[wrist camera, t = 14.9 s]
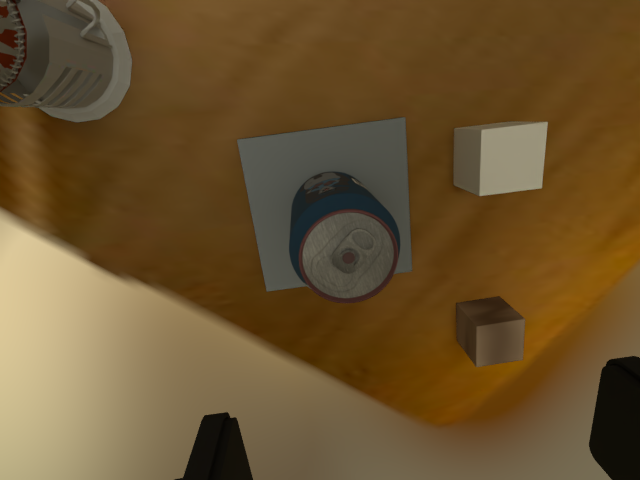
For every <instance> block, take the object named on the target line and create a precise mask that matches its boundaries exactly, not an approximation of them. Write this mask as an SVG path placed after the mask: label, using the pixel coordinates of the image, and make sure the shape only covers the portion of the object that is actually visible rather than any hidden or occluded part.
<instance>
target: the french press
mask: <svg viewBox="0 0 640 480" xmlns="http://www.w3.org/2000/svg"><path fill="white" fill-rule="evenodd" d="M131 67H132V58H131V54H130V51H129V47H128V44H127V40H126V37H125V33H124V31H123V30H122V28H121V27H120V26H119V24H118V23H117V21H116V20H115V18H114V17H113V15H112V14H111V12H110V11H109V10H108V8H107V7H106V6H105V5H103V4H102V3H101V2H99V1H98V0H0V92H2V93H3V94H5V95H7V96H9V97H10V98H12V99H14V100H15V101H17V102H18V103H15V102H12V101H10V100H8V99H7V98H5V97H3V96H1V95H0V99H1V100H3V101H5V102H8V103H11V104H7V103H3V102H0V106H9V107H19V106H21V107H36V108H40V109H41V110H43V111H44V112H46V113H47V114H49V115H50V116H52V117H56V118H60V119H65V120H69V121H73V122H83V121H90V120H96V119H101V118H102V117H104V116H105V115H106V114H108V113H109V112H111V111H112V110H114V109H115V108H117V107H118V106H119V105H120V103H121V101H122V99H123V97H124V95H125V94H126V92H127V90H128V88H129V86H130V79H131ZM10 93H15V94H17V95H18V96H20V97H22V98H23V99H22V100H20V99H19V98H17V97H15V96H13V95H12V94H10ZM32 104H33V105H32ZM25 105H29V106H25Z"/></svg>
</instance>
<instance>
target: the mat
mask: <svg viewBox="0 0 640 480" xmlns="http://www.w3.org/2000/svg"><path fill="white" fill-rule="evenodd" d="M237 142H238V147H239V152H240V157H241V163H242V168H243V173H244V178H245V183H246V188H247V193H248V198H249V204H250V209H251V214H252V219H253V224H254V229H255V234H256V240H257V245H258V250H259V255H260V260H261V265H262V270H263V275H264V281H265V286H266V291H274V290H282V289H289V288H296V287H303V286H306V285H305V284H304V283H303V282H302V281H301V279H300V278H299V277H298V275H297V274H296V272H295V270H294V268H293V266H292V263H291V260H290V255H289V239H290V223H291V208H292V202H293V199H294V197H295V195H296V193H297V191H298V189H299V188H300V187H301V186H302V185H303V184H304V183H305V182H306V181H307V180H308V179H310V178H311V177H313V176H315V175H317V174H320V173H324V172H342V173H346V174H348V175H351V176H353V177H354V178H356V179H357V180H359V181H360V182H361V183H362V184H363V185H364V186H365V187H366V188H367V189H368V190H369V191H370V193H371V194H372V195H373V196H374V197H375V198H376V199H377V200H378V201H379V202H380V203H381V204H382V205H383V206H384V207H385V208H386V209H387V210H388V211H389V213H390V214H391V215H392V217H393V218H394V220H395V222H396V224H397V227H398V230H399V234H400V253H399V258H398V263H397V267H396V270H395V272H394V274H396V273H403V272H410V271H412V257H411V234H410V212H409V189H408V167H407V144H406V122H405V117H402V118H394V119H387V120H379V121H372V122H365V123H357V124H350V125H342V126H335V127H327V128H320V129H312V130H305V131H297V132H290V133H282V134H275V135H267V136H260V137H252V138H245V139H238V140H237Z"/></svg>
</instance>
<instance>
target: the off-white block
mask: <svg viewBox="0 0 640 480" xmlns="http://www.w3.org/2000/svg"><path fill="white" fill-rule="evenodd" d="M547 125H548V122H502V123H494V124H486V125H478V126H469V127H461V128H454V186H457V187H459V188H461V189H464V190H466V191H469V192H471V193H473V194H476V195H478V196H484V195H492V194H500V193H508V192H516V191H524V190H532V189H540V188H542V180H543V169H544V158H545V147H546V136H547Z"/></svg>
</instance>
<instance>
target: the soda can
mask: <svg viewBox="0 0 640 480" xmlns="http://www.w3.org/2000/svg"><path fill="white" fill-rule="evenodd" d="M399 253H400V234H399V230H398V227H397V224H396V222H395V220H394V218H393V217H392V215H391V214H390V213H389V211H388V210H387V209H386V208H385V207H384V206H383V205H382V204H381V203H380V202H379V201H378V200H377V199H376V198H375V197H374V196H373V195H372V194H371V193H370V191H369V190H368V189H367V188H366V187H365V186H364V185H363V184H362V183H361V182H360V181H359V180H357V179H356V178H354V177H353V176H351V175H348V174H346V173H342V172H324V173H320V174H317V175H315V176H313V177H311V178H310V179H308V180H307V181H306V182H305V183H304V184H303V185H302V186H301V187H300V188H299V189H298V191H297V193H296V195H295V197H294V199H293V202H292V208H291V223H290V239H289V255H290V260H291V263H292V266H293V268H294V270H295V272H296V274H297V275H298V277H299V278H300V279H301V281H302V282H303V283H304V284H305V285H306V286H308V287H309V288H310V289H312V290H313V291H314V292H315V293H316V294H318V295H319V296H321V297H323V298H325V299H327V300H330V301H333V302H338V303H355V302H360V301H363V300H366V299H369V298H371V297H373V296H375V295H376V294H377V293H379V292H380V291H381V290H382V289H383V288H384V287H385V286H386V285H387V284H388V283H389V281H390V280H391V278H392V276H393V275H394V272H395V270H396V267H397V263H398V258H399Z"/></svg>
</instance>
